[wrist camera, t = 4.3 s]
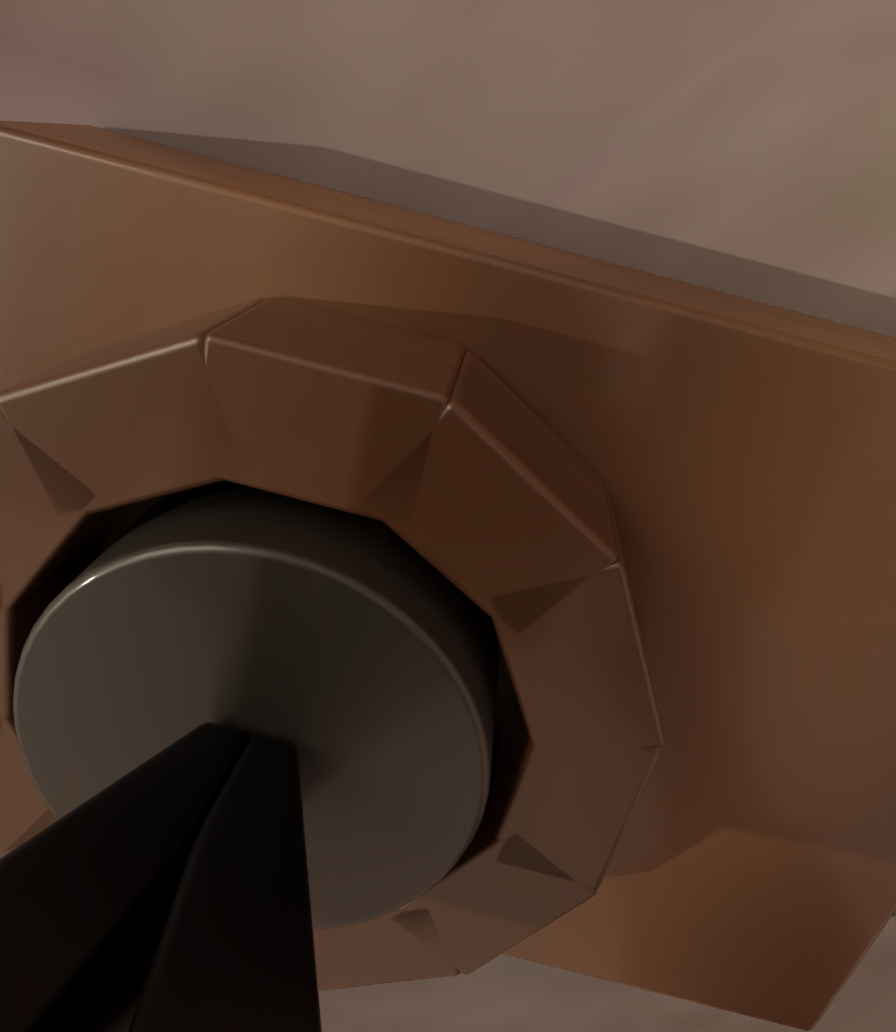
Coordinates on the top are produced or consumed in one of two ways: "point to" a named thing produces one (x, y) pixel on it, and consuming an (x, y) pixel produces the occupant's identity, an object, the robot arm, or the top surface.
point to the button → (277, 680)
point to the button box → (501, 541)
